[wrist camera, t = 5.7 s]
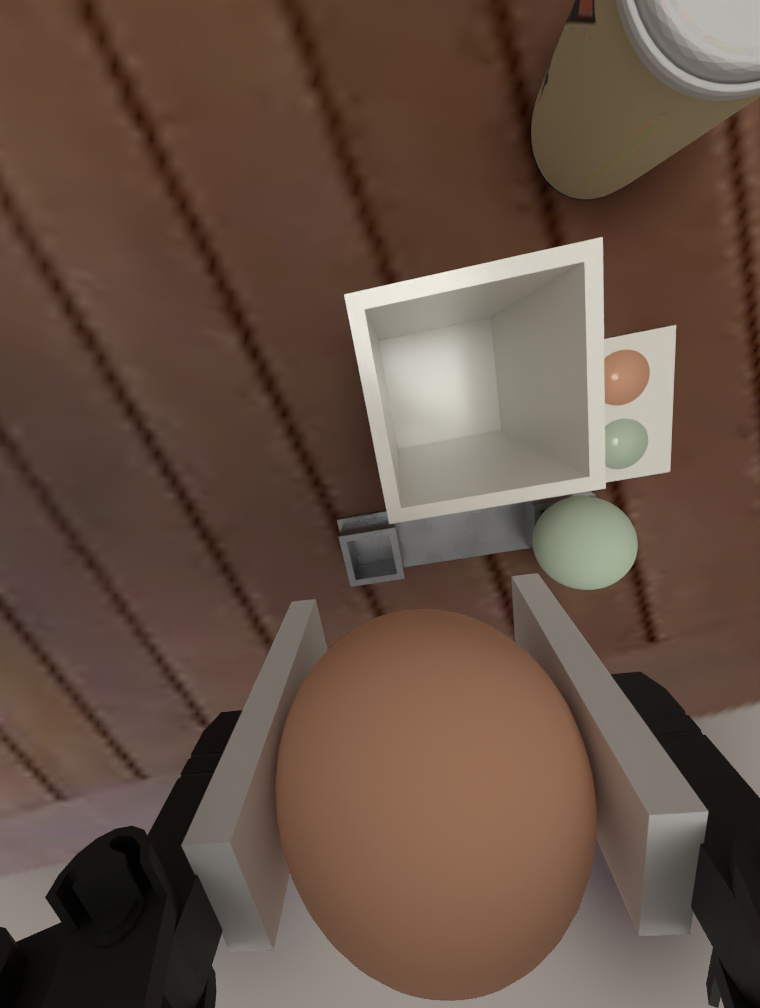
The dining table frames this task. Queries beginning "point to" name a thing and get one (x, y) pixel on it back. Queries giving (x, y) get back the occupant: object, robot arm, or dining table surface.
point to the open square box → (486, 382)
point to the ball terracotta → (435, 804)
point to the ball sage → (584, 542)
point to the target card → (639, 403)
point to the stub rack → (435, 538)
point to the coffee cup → (640, 87)
